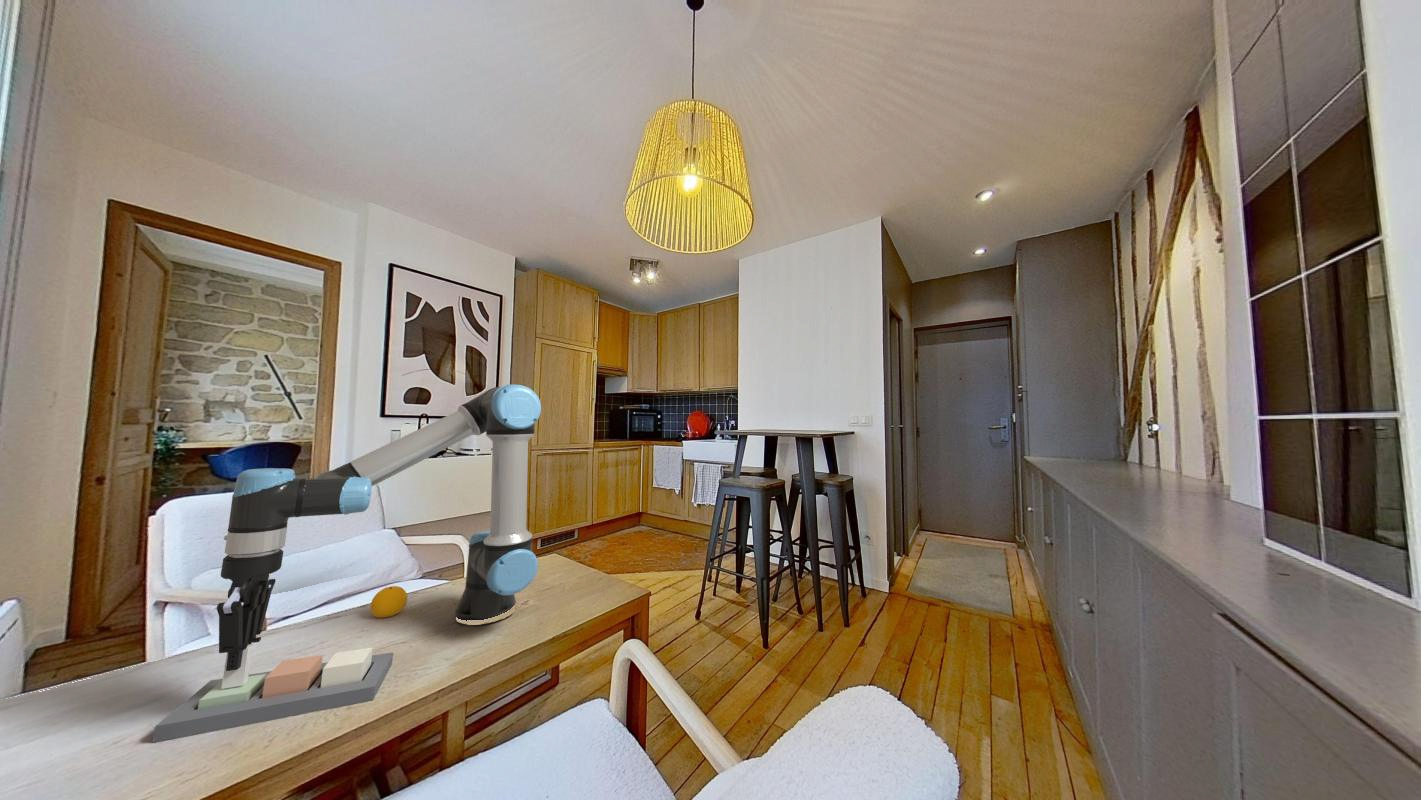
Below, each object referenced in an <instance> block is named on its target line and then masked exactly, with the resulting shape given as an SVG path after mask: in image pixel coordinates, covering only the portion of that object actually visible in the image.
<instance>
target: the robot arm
mask: <svg viewBox="0 0 1421 800" xmlns="http://www.w3.org/2000/svg"><path fill="white" fill-rule="evenodd" d="M457 408H458V409H457V411H455V412H453V413H450V414H449V415H446V416H444V417H441V418H440V419H437V420H435V421H433V422H431V423H430V424H429V423H428V424H427V425H425V426H423V427H421V428H419V429H417V430H414V431H412V432H410V433H408V434H406V435H404V436H402V437H400V438H398V439H396V440H393V441H391V442H390V443H387V444H385V445H383V446H381V447H379V448H376V449H374V450H372V451H370V452H368V453H365V454H364V455H362V456H359V457H357V458H356V459H353V460H351V461H349V462H348V463H345V464H343V465H340V466H339V467H336V468H334V469H332V470H327V471H325V472H322V473H321V474H319V475H317V476H316V477H314V478H300V477H299V478H297V477H296V473H295V472H296V471H295V470H294V469H293V468H275V467H274V468H272V467H267V468H263V467H262V468H252V469H250V468H249V469H245V470H243V471H241V472H240V473H239V474H238V475H237V477H236V481H235V485H234V490H233V493H232V498H231V506H230V512H229V518H228V519H229V520H228V521H229V522H228V529H227V534H226V535H224V537H223V540H224V541H225V548H224V554H226V555H225V556H224V557H223V559H222V564H221V569H220V570H221V571H220V578H222V579H224V580H230V581H231V585H230V587H229V590H228V591H227V598H228V599H227V600H226V602H219V603H218V604H217V606H216V612H217V614H218V653H219V654H225V653H226V658H225V663H224V664H225V665H224V670H223V677H222V679H223V682H222V688H221V689H225V688H231V687H237V686H243V685H244V684H245V683H246V682H247V681H248V675H249V672H250V666H251V659H252V653H253V652H252V651H253V647H254V646H253V645H254V644H255V643H260V642H261V639H262V636H259V635H260V634H261V633H262V631H263V627H264V622H265V618H266V614H267V611H268V607H269V603H270V600H271V594H272V592H273V589H274V587H275V584H276V581H277V580H276V578H273V579H272V578H271V579H270V574H271V575H272V574H273V573H275V572H278V571H279V570H280V569H281V568H282V565H283V556H284V550H282V548H284V547H285V545H286V540H287V532H288V520H289V518H300V517H314V516H315V517H316V516H329V515H333V516H334V515H345V516H346V515H349V514H357V513H363V512H365V511H367V509H368V508H369V506H370V502H371V497H372V496H371V495H372V487H373V486H374V487H375V486H376V485H377V484H379V483H381V482H383V481H385V480H388V479H390V478H391V477H393V476H396V475H397V474H400V473H401V472H403V471H405V470H407V469H408V468H410V467H413V466H414V465H416V464H417V465H418V463H420V462H423V461H424V460H426V459H428V458H430V457H432V456H435V454H438V453H439V452H442V451H443V450H445V449H447V448H450V447H452V446H453V445H455V444H457V443H459V442H461V441H464V440H465V439H467V438H469V437H471V436H481V435H482V434H484V433H485V435H486V437H487V438H488V439H490V441H491V442H492V446H491V447H492V450H491V451H492V452H491V454H492V455H491V456H492V457H491V488H490V489H491V490H490V491H491V492H490V493H491V496H490V498H491V499H490V527H489V528H490V530H483V531H479V532H475V533H473V534H472V535H471V536H470V539H469V544H468V555H467V556H468V557H467V566H466V567H467V568H466V578H465V587H464V591H463V592H462V595H461V596H460V600H459V601H458V604H457V606H456V609H455V614H454V617H455V616H456V617H457V618H458V619H461V620H466V621H467V620H484V619H488V618H492V617H495V616H498V615H500V614H502V613H505V612H507V611H508V610H510V609H511V608H512V607H513V606H514V605H515V603H516V604H517V600H516V596H515V594H518V593H520V592H522V591H523V590H525V589H526V588H528V586H529V585H530V584H531V583H532V582H533V581H534V579H535V578H536V577H537V573H538V570H539V569H538V568H539V561H538V558H537V555H536V554H535V553H534V552H533V534H532V532H531V531H529V530H528V528H527V521H528V520H527V518H528V516H527V515H528V512H527V511H528V510H527V509H528V476H529V475H528V473H529V472H528V470H529V468H528V467H529V466H528V465H529V440H530V439H532V438H533V437H534V436H535V428H536V427H535V426H536V425H535V424H536V422H537V421H538V420H539V418H540V416H541V412H542V403H541V400H540V398H539V396H538V395H537V393H536V392H535V391H534V390H532V389H531V388H530V387H528V386H526V385H525V386H524V385H521V384H514V383H513V384H505V385H503V386H495V387H492V388H490V389H488V390H486V391H484V392H483V393H481V394H480V395H478V396H476V397H474V398H472V399H471V400H469V401H467V402H465V403H463V404H461V405H459V406H458V407H457Z"/></svg>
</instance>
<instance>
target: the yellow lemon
mask: <svg viewBox="0 0 1421 800" xmlns="http://www.w3.org/2000/svg"><path fill="white" fill-rule="evenodd" d="M407 602H408V593H407V592H406V590H405V589H404V588H403V587H401V586H398V585H397V586H396V585H392V586H386V587H385V588H382V589H381V590H379V591H378V592H377V593H376V594H375V595H374V597H373V598H372V599H371V603H370V611H371V613H372V615H373V616H375V617H377V618H382V619H383V618H391V617H393V616H395V614H396V615H397V613H398V614H399V613H400V612H401V611H403V610H404V609H405V607H406V605H407Z"/></svg>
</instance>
